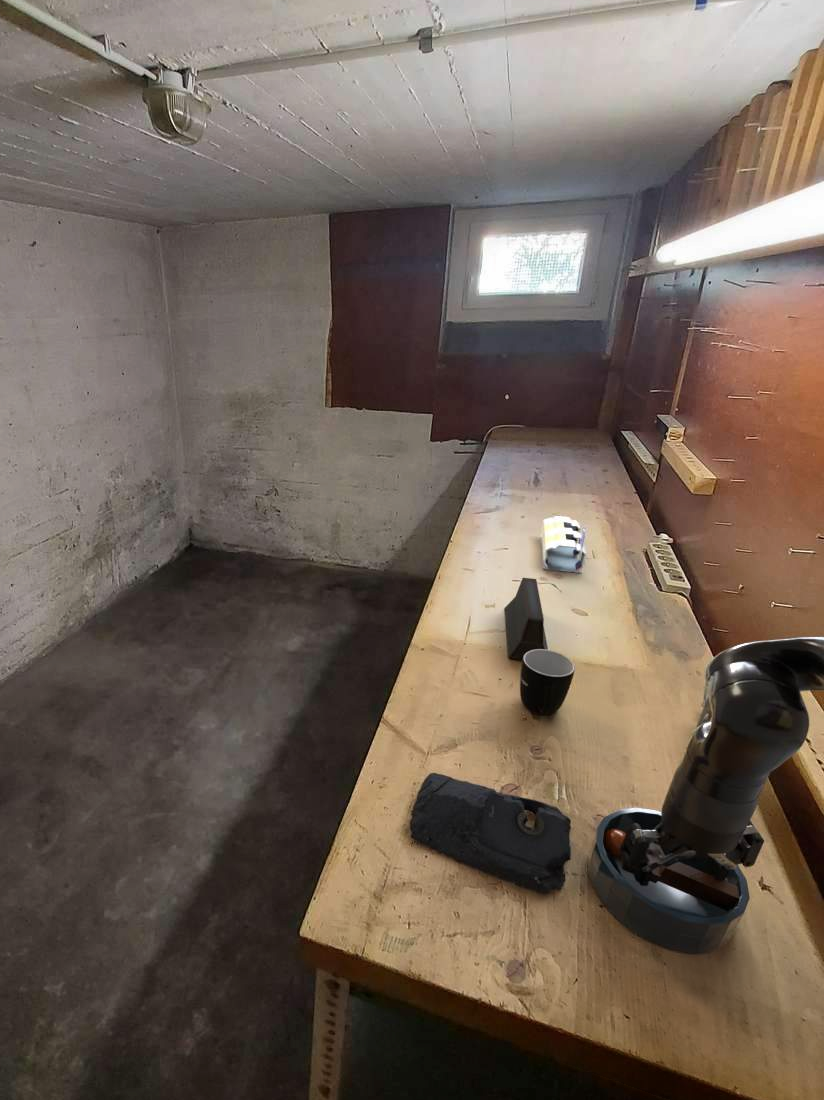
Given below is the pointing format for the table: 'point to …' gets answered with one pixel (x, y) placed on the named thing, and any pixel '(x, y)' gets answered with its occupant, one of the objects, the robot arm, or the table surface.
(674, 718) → the table surface
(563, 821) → the dark slate chunk
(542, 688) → the mug
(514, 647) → the barrier
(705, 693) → the mechanical component
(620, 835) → the bead
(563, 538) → the diorama
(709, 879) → the dark brown wooden bar
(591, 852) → the bowl
